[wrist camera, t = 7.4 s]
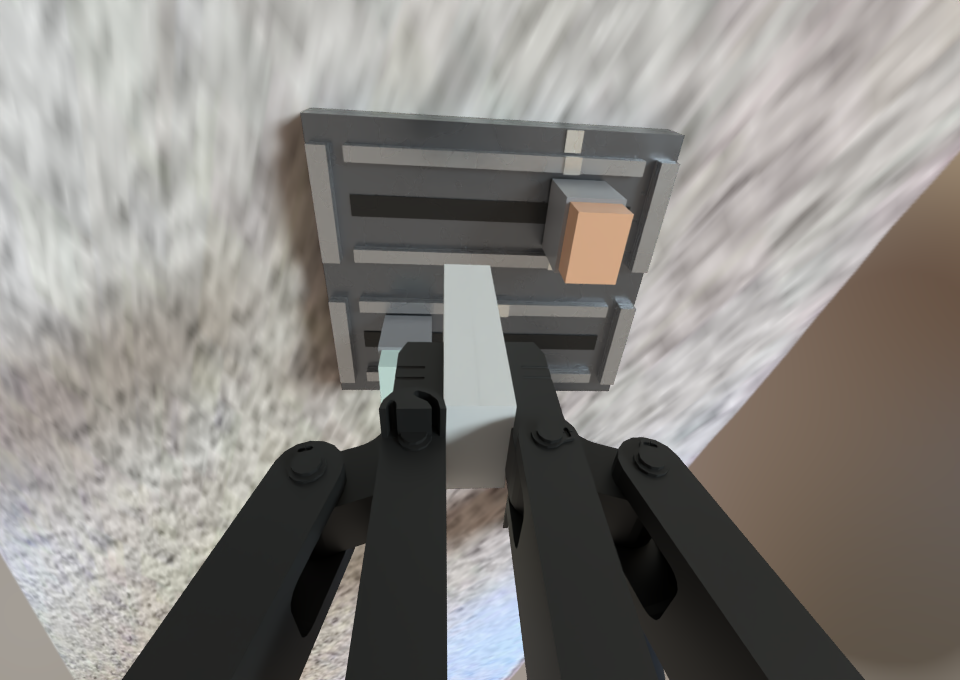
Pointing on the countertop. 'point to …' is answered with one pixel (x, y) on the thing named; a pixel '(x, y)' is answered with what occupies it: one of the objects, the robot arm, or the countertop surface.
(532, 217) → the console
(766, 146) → the countertop surface
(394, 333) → the knob
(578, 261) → the knob
